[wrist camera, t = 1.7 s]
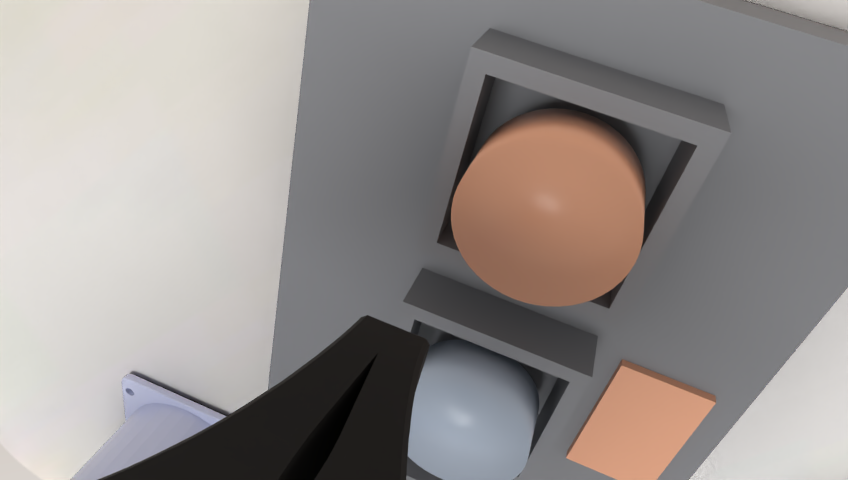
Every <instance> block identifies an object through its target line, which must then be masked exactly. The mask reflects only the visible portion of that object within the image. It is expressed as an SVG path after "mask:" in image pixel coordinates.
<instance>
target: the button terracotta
mask: <svg viewBox="0 0 848 480" xmlns="http://www.w3.org/2000/svg"><path fill="white" fill-rule="evenodd" d="M645 194H646V189H645V178H644V173H643V169H642V166H641V164H640V161H639V159H638V157H637V155H636V153H635V151H634V149H633V148H632V147H631V145H630V144H629V143H628V142H627V140H626V139H625V138H624V137H623V136H622V135H621V134H620V133H619V132H618V131H616V130H615V129H614V128H613V127H611V126H610V125H609V124H607V123H605V122H603V121H602V120H600V119H598V118H596V117H594V116H591V115H589V114H586V113H582V112H579V111H575V110H569V109H556V108H549V109H540V110H535V111H531V112H527V113H524V114H521V115H519V116H516V117H514V118H512V119H511V120H509V121H507V122H505V123H504V124H503V125H501V126H500V127H499V128H497V129H496V130H495V131H494V132H493V133H492V134H491V135H490V136H489V137H488V139H487V140H486V141H485V143H484V144H483V145H482V147H481V149H480V150H479V152H478V153H477V155H476V157H475V158H474V160H473V161H472V163H471V165H470V166H469V168H468V169H467V171H466V173H465V174H464V176H463V177H462V179H461V181H460V183H459V185H458V186H457V189H456V192H455V194H454V197H453V202H452V207H451V225H452V231H453V235H454V239H455V242H456V244H457V247H458V249H459V251H460V253H461V255H462V257H463V258H464V260H465V261H466V263H467V264H468V266H469V267H470V268H471V269H472V270H473V271H474V272H475V274H476V275H477V276H479V277H480V278H481V279H482V280H483V281H484V282H485V283H487V284H488V285H489V286H491V287H492V288H494V289H495V290H497V291H499V292H500V293H502V294H504V295H506V296H508V297H511V298H513V299H516V300H519V301H522V302H525V303H529V304H534V305H540V306H553V307H560V306H571V305H576V304H580V303H584V302H587V301H590V300H593V299H595V298H597V297H600V296H602V295H604V294H605V293H607V292H608V291H610V290H611V289H613V288H614V287H615V286H617V285H618V284H619V283H620V282H621V281H622V280H623V279H624V278H625V277H626V276H627V275H628V273H629V272H630V271H631V269H632V267H633V266H634V264H635V263H636V260H637V258H638V256H639V254H640V250H641V246H642V242H643V233H644V214H645Z"/></svg>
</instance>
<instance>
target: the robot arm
mask: <svg viewBox="0 0 848 480" xmlns="http://www.w3.org/2000/svg"><path fill="white" fill-rule="evenodd" d="M429 347H430V345H429V343H428V341H427V340H426V339H425V338H423V337H420V336H418V335H416V334H413V333H411V332H408V331H406V330H403V329H401V328H398V327H396V326H393V325H391V324H388V323H386V322H384V321H381V320H379V319H376V318H374V317H371V316H369V315H366V316H363V317H361V318H360V319H359V320H358V321H357V322H356V323H354V324H353V325H352V326H351V327H350V328H349V329H348V330H347V331H346V332H344V333H343V334H342V335H341V336H340V337H339V338H337V339H336V340H335V341H334V342H333V343H331V344H330V345H329V346H328V347H326V348H325V349H324V350H323V351H321V352H320V353H319V354H318V355H316V356H315V357H314V358H312V359H311V360H310V361H308V362H307V363H306V364H304V365H303V366H302V367H300V368H299V369H298V370H296V371H295V372H294V373H292V374H291V375H289V376H288V377H287V378H285V379H284V380H283V381H281V382H280V383H278V384H277V385H275V386H274V387H272V388H271V389H269V390H268V391H266V392H264V393H263V394H261V395H260V396H258V397H257V398H255V399H254V400H252V401H251V402H249V403H248V404H246V405H245V406H243V407H241V408H240V409H238V410H236V411H235V412H233V413H232V414H230V415H228V416H225V415H222V414H220V413H218V412H216V411H213V410H211V409H209V408H207V407H204V406H202V405H200V404H198V403H196V402H193V401H191V400H189V399H187V398H184V397H182V396H180V395H178V394H175V393H173V392H171V391H169V390H167V389H164V388H162V387H160V386H158V385H155V384H153V383H151V382H149V381H146V380H144V379H142V378H140V377H138V376H135V375H133V374H127V375H126V376H125V377H124V378H123V379H122V389H123V398H124V408H125V418H126V422H125V423H124V424H123V425H122V426H121V427H120V428H119V429H118V430H117V431H116V432H115V433H114V434H113V435H112V436H111V437H110V438H109V439H108V441H107V442H106V443H105V444H104V445H103V446H102V447H101V448H100V449H99V450H98V451H97V452H96V453H95V454H94V455H93V456H92V457H91V458H90V459H89V460H88V462H87V463H86V464H85V465H84V466H83V467H82V468H81V469H80V470H79V471H78V472H77V473H76V474H75V475H74V476H73V477H72V478H71V479H70V480H406V476H407V456H408V443H409V434H410V425H411V416H412V408H413V402H414V396H415V391H416V388H417V385H418V382H419V379H420V376H421V372H422V369H423V366H424V363H425V360H426V356H427V353H428V350H429Z"/></svg>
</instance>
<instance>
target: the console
mask: <svg viewBox="0 0 848 480" xmlns="http://www.w3.org/2000/svg"><path fill="white" fill-rule="evenodd" d="M549 108H556V109H569V110H575V111H579V112H582V113H586V114H589V115H591V116H594V117H596V118H598V119H600V120H602V121H603V122H605V123H607V124H609V125H610V126H611V127H613V128H614V129H615V130H616V131H618V132H619V133H620V134H621V135H622V136H623V137H624V138H625V139H626V140H627V142H628V143H629V144H630V145H631V147H632V148H633V149H634V151H635V153H636V155H637V157H638V159H639V161H640V164H641V166H642V169H643V173H644V178H645V189H646V194H645V214H644V233H643V242H642V246H641V250H640V254H639V256H638V258H637V260H636V263H635V264H634V266H633V267H632V269H631V271H630V272H629V273H628V275H627V276H626V277H625V278H624V279H623V280H622V281H621V282H620V283H619V284H618V285H617V286H615V287H614V288H613V289H611V290H610V291H608V292H607V293H605V294H604V295H602V296H600V297H597V298H595V299H593V300H590V301H587V302H584V303H580V304H576V305H571V306H560V307H553V306H540V305H534V304H529V303H525V302H522V301H519V300H516V299H513V298H511V297H508V296H506V295H504V294H502V293H500V292H499V291H497V290H495V289H494V288H492V287H491V286H489V285H488V284H487V283H485V282H484V281H483V280H482V279H481V278H480V277H479V276H477V275H476V274H475V272H474V271H473V270H472V269H471V268H470V267H469V266H468V264H467V263H466V261H465V260H464V258H463V257H462V255H461V253H460V251H459V249H458V247H457V244H456V242H455V239H454V235H453V231H452V225H451V207H452V202H453V197H454V194H455V192H456V189H457V186H458V185H459V183H460V181H461V179H462V177H463V176H464V174H465V173H466V171H467V169H468V168H469V166H470V165H471V163H472V161H473V160H474V158H475V157H476V155H477V153H478V152H479V150H480V149H481V147H482V145H483V144H484V143H485V141H486V140H487V139H488V137H489V136H490V135H491V134H492V133H493V132H494V131H495V130H496V129H497V128H499V127H500V126H501V125H503V124H504V123H505V122H507V121H509V120H511V119H512V118H514V117H516V116H519V115H521V114H524V113H527V112H531V111H535V110H540V109H549ZM847 288H848V32H847V31H844V30H841V29H837V28H834V27H831V26H827V25H824V24H821V23H817V22H814V21H811V20H807V19H804V18H801V17H797V16H794V15H791V14H787V13H784V12H781V11H778V10H774V9H771V8H768V7H764V6H761V5H758V4H754V3H751V2H748V1H744V0H310V3H309V12H308V21H307V31H306V40H305V49H304V59H303V68H302V77H301V87H300V96H299V105H298V114H297V124H296V133H295V142H294V152H293V161H292V170H291V180H290V189H289V198H288V208H287V217H286V226H285V236H284V245H283V254H282V264H281V273H280V282H279V291H278V301H277V310H276V319H275V329H274V338H273V347H272V357H271V366H270V375H269V385H268V390H269V389H271V388H272V387H274V386H275V385H277V384H278V383H280V382H281V381H283V380H284V379H285V378H287V377H288V376H289V375H291V374H292V373H294V372H295V371H296V370H298V369H299V368H300V367H302V366H303V365H304V364H306V363H307V362H308V361H310V360H311V359H312V358H314V357H315V356H316V355H318V354H319V353H320V352H321V351H323V350H324V349H325V348H326V347H328V346H329V345H330V344H331V343H333V342H334V341H335V340H336V339H337V338H339V337H340V336H341V335H342V334H343V333H344V332H346V331H347V330H348V329H349V328H350V327H351V326H352V325H353V324H354V323H356V322H357V321H358V320H359V319H360V318H361V317H363V316H366V315H369V316H371V317H374V318H376V319H379V320H381V321H384V322H386V323H388V324H391V325H393V326H396V327H398V328H401V329H403V330H406V331H408V332H411V333H413V334H416V335H418V336H420V337H423V338H425V339H426V340H427V341H428V343H429V345H430V346H431V345H433V344H436V343H438V342H442V341H447V340H467V341H469V342H472V343H474V344H477V345H479V346H482V347H484V348H487V349H489V350H492V351H494V352H497V353H499V354H502V355H504V356H507V357H509V358H511V359H514V360H516V361H517V362H518V363H519V364H520V365H521V366H522V367H523V368H524V369H525V370H526V371H527V372H528V374H529V375H530V376H531V378H532V379H533V381H534V383H535V385H536V388H537V391H538V394H539V411H538V415H537V420H536V424H535V429H534V433H533V438H532V442H531V447H530V451H529V456H528V460H527V463H526V465H525V468H524V469H523V470H522V472H521V473H520V474H519V475H518V476H517V477H515V478H514V479H513V480H689V479H690V477H691V476H692V475H693V474H694V473H695V471H696V470H697V469H698V468H699V467H700V465H701V464H702V463H703V462H704V460H705V459H706V458H707V457H708V456H709V454H710V453H711V452H712V451H713V450H714V448H715V447H716V446H717V445H718V444H719V442H720V441H721V440H722V439H723V438H724V436H725V435H726V434H727V433H728V431H729V430H730V429H731V428H732V427H733V425H734V424H735V423H736V422H737V421H738V419H739V418H740V417H741V416H742V415H743V413H744V412H745V411H746V410H747V408H748V407H749V406H750V405H751V404H752V402H753V401H754V400H755V399H756V398H757V396H758V395H759V394H760V393H761V392H762V390H763V389H764V388H765V387H766V385H767V384H768V383H769V382H770V381H771V379H772V378H773V377H774V376H775V375H776V373H777V372H778V371H779V370H780V369H781V367H782V366H783V365H784V364H785V363H786V361H787V360H788V359H789V358H790V356H791V355H792V354H793V353H794V352H795V350H796V349H797V348H798V347H799V346H800V344H801V343H802V342H803V341H804V340H805V338H806V337H807V336H808V335H809V333H810V332H811V331H812V330H813V329H814V327H815V326H816V325H817V324H818V323H819V321H820V320H821V319H822V318H823V317H824V315H825V314H826V313H827V312H828V311H829V309H830V308H831V307H832V306H833V304H834V303H835V302H836V301H837V300H838V298H839V297H840V296H841V295H842V294H843V292H844V291H845V290H846V289H847ZM406 480H443V479H441V478H439V477H437V476H435V475H432V474H431V473H429V472H427V471H426V470H424V469H423V468H421V467H420V466H418V465H417V464H416V463H415V462H413V461H412V460H411V459H410V458H409V457H408V456H407V476H406Z"/></svg>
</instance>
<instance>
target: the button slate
mask: <svg viewBox="0 0 848 480" xmlns="http://www.w3.org/2000/svg"><path fill="white" fill-rule="evenodd" d="M538 411H539V394H538V391H537V388H536V385H535V383H534V381H533V379H532V378H531V376H530V375H529V374H528V372H527V371H526V370H525V369H524V368H523V367H522V366H521V365H520V364H519V363H518V362H517V361H516V360H514V359H511V358H509V357H507V356H504V355H502V354H499V353H497V352H494V351H492V350H489V349H487V348H484V347H482V346H479V345H477V344H474V343H472V342H469V341H467V340H447V341H442V342H438V343H436V344H433V345H431V346H430V347H429V350H428V353H427V356H426V360H425V363H424V366H423V369H422V372H421V376H420V379H419V382H418V385H417V388H416V391H415V396H414V402H413V408H412V416H411V425H410V434H409V443H408V457H409V458H410V459H411V460H412V461H413V462H415V463H416V464H417V465H418V466H420V467H421V468H423V469H424V470H426V471H427V472H429V473H431V474H432V475H435V476H437V477H439V478H441V479H443V480H513V479H514V478H515V477H517V476H518V475H519V474H520V473H521V472H522V470H523V469H524V468H525V465H526V463H527V460H528V456H529V451H530V447H531V442H532V438H533V433H534V429H535V424H536V420H537V415H538Z"/></svg>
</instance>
